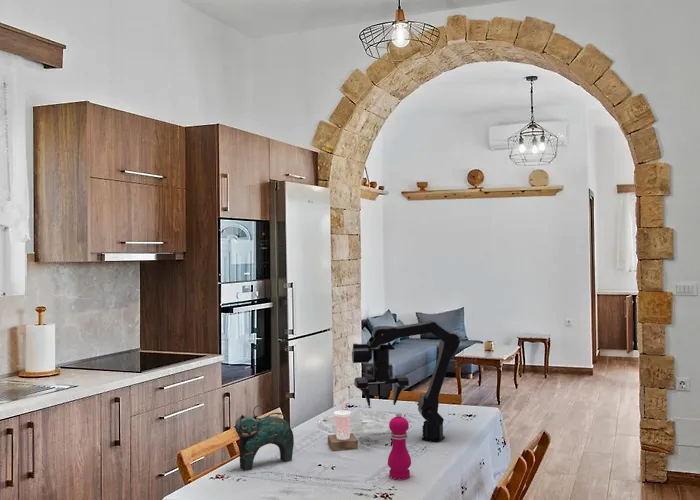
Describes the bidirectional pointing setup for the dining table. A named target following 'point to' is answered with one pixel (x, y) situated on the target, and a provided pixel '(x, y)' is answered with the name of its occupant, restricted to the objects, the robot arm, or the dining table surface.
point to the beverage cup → (342, 423)
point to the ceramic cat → (263, 437)
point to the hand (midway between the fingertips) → (381, 405)
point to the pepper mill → (399, 448)
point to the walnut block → (342, 443)
